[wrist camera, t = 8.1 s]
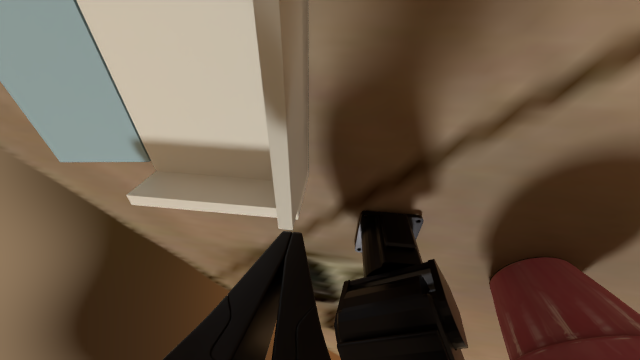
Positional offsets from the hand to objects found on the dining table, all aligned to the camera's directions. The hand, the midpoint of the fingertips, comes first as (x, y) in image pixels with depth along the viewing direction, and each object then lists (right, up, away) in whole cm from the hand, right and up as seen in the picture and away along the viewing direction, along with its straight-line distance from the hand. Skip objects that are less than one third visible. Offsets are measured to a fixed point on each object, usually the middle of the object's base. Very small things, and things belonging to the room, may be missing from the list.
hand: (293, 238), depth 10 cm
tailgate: (-14, +11, +6) cm, 18 cm away
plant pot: (+28, -10, +19) cm, 35 cm away
